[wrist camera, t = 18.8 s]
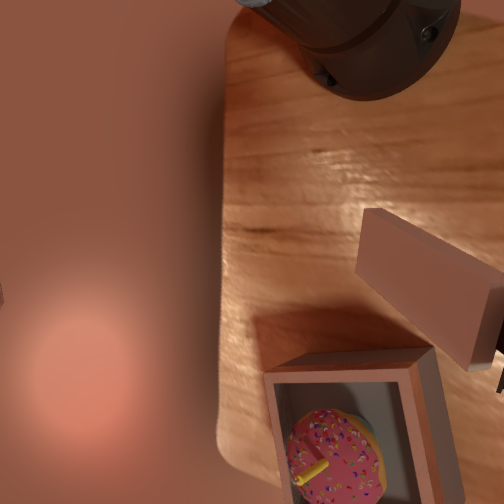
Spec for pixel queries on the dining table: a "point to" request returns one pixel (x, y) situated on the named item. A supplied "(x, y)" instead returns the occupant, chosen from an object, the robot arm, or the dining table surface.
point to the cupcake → (336, 459)
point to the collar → (359, 372)
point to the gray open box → (387, 416)
